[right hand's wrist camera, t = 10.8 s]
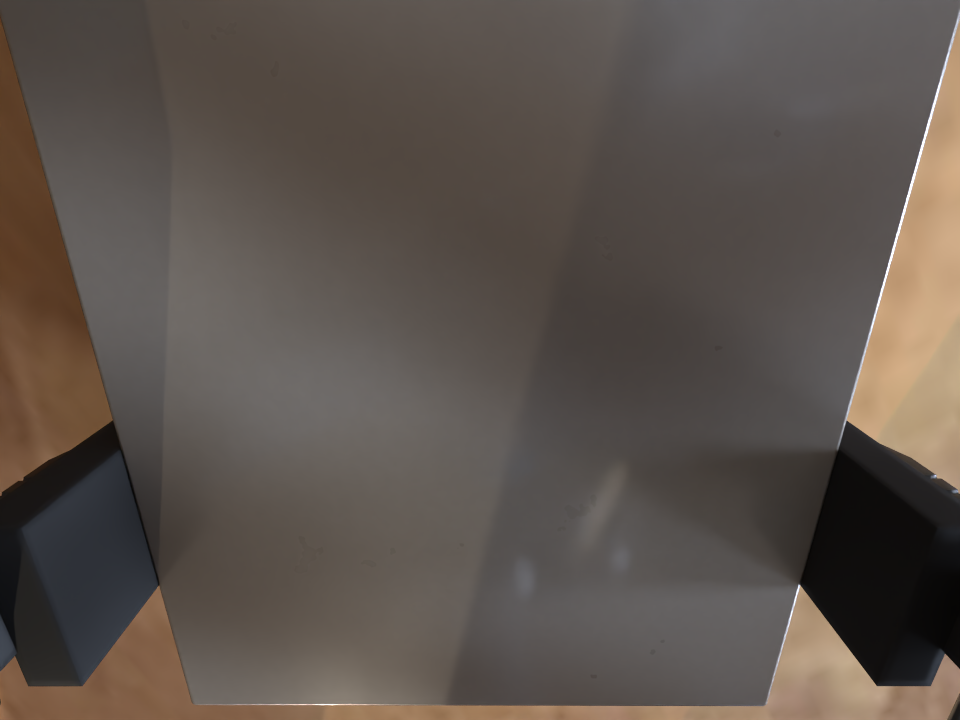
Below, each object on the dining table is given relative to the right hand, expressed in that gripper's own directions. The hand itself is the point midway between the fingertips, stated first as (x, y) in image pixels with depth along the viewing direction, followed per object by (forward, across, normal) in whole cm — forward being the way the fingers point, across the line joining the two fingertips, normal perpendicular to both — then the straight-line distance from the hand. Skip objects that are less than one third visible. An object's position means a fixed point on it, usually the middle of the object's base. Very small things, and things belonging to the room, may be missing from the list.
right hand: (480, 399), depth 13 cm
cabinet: (+5, 0, -6) cm, 8 cm away
